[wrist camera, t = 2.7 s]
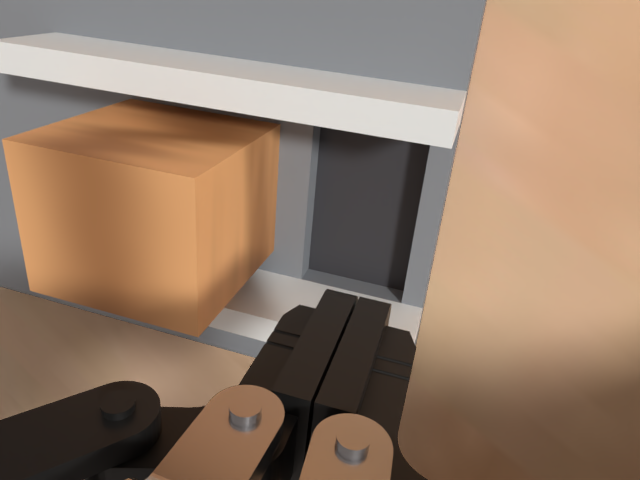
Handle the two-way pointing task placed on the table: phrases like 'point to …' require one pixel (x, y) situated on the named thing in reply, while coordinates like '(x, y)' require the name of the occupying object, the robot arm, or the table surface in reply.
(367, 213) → the channel
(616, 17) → the table surface
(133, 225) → the block
